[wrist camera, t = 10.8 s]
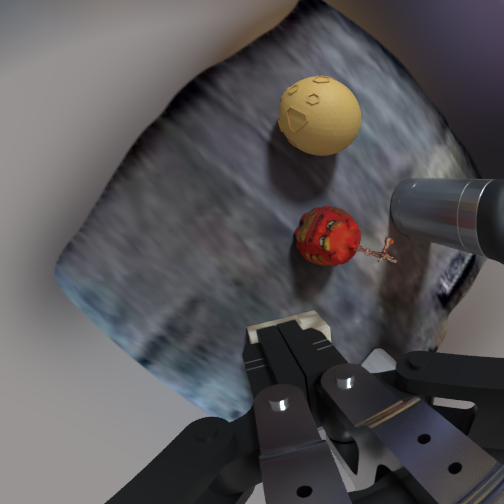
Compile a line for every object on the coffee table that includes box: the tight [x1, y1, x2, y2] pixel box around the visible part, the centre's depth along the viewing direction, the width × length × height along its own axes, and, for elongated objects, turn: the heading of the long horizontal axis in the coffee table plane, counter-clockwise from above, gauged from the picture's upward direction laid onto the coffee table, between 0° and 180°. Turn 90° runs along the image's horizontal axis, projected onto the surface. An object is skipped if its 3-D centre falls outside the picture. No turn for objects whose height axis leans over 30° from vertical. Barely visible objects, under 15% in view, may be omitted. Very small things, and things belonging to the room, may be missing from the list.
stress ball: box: [278, 76, 361, 156], centre depth 32 cm, size 10×10×10 cm
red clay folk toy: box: [295, 206, 398, 266], centre depth 33 cm, size 8×7×15 cm
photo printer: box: [361, 348, 396, 373], centre depth 40 cm, size 10×4×12 cm, turn 146°
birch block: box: [247, 310, 331, 344], centre depth 40 cm, size 10×16×7 cm, turn 11°
